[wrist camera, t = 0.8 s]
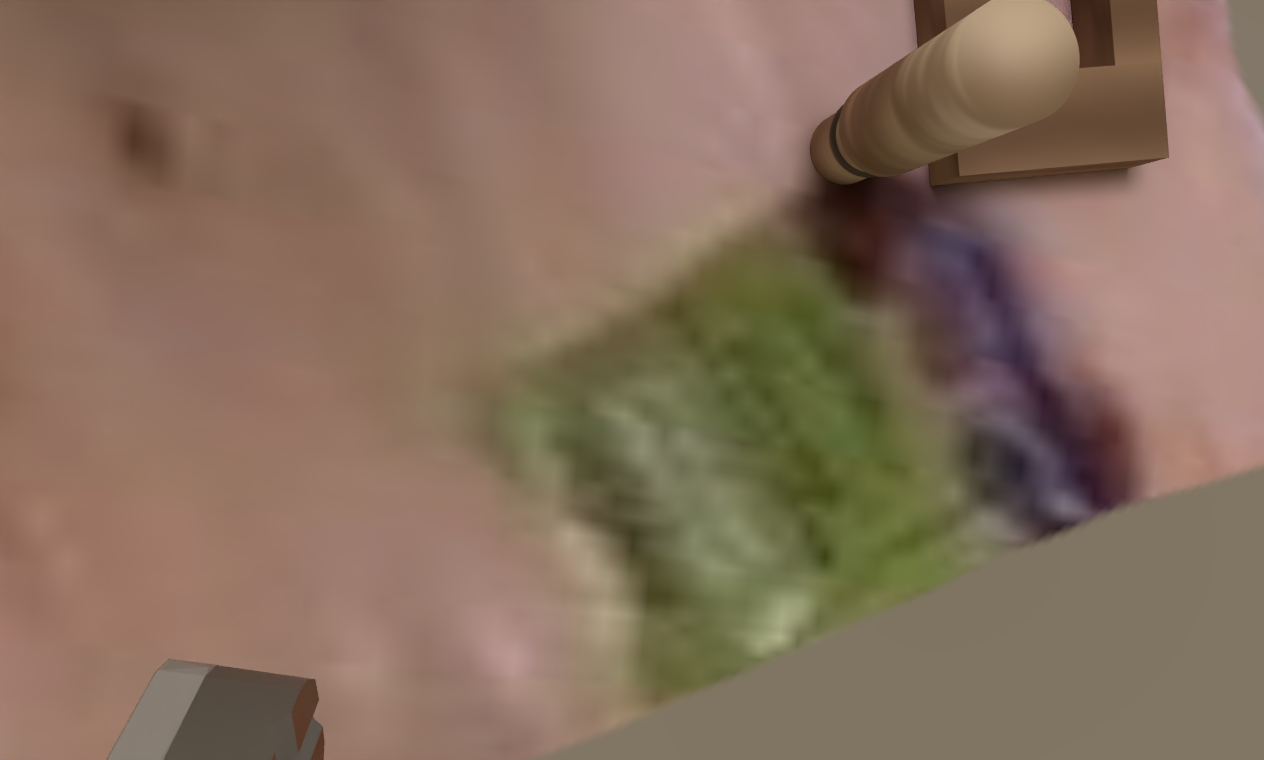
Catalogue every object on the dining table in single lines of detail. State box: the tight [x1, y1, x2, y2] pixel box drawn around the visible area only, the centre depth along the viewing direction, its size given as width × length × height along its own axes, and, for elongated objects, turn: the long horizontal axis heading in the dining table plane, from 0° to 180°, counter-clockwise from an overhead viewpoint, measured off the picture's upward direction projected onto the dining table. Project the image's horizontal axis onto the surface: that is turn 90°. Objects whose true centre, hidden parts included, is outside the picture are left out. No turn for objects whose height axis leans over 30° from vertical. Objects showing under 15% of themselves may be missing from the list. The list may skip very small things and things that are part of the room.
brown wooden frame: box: [914, 0, 1169, 186], centre depth 49 cm, size 14×10×3 cm
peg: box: [810, 0, 1080, 185], centre depth 41 cm, size 4×4×16 cm
